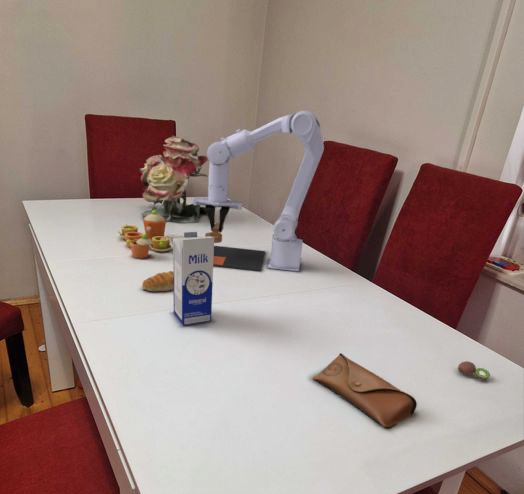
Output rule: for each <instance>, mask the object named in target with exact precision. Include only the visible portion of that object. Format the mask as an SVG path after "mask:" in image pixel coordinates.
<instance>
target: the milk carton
mask: <svg viewBox="0 0 524 494" xmlns="http://www.w3.org/2000/svg"><path fill="white" fill-rule="evenodd" d="M172 242H173V243H172V251H173V252H172V259H173V260H172V261H173V262H172V264H173V265H172V267H173V268H172V269H173V270H172V271H173V287H174V290H173V314H174V315H175V317H176V319H177V320H178V321H179V323H180V325H182V327H186V326H191V325H197V324H205V323H211V322H212V313H213V312H212V311H213V310H212V309H213V284H214V282H213V281H214V280H213V279H214V266H213V257H214V246H215V243H214V237H205V236H198V231H188V232H187V231H186V232H183V237H176V238H175V237H174V238H172Z"/></svg>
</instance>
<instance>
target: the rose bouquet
mask: <svg viewBox="0 0 524 494" xmlns="http://www.w3.org/2000/svg"><path fill="white" fill-rule="evenodd" d="M164 142H165V143H166V144H163V147H164V151H163V152H162V153H163V156H162V155H161V154H157V155H152V156H149V157H148V158H147V159H145V162H146V163H144V164H143V166H144V167H142V168H141V167H140V168H138V170H139V171H140V173H141V174H142V175H141V176H140V181H141V183H142V185H143V187H144V188H143V189H142V191H144V192H143V193H142V198H143V199H144V201H146V202H148V203H153V205H152V207H151V209H152V210H148V211H144V212H141V213H140V214H141V216H142V218H143V219H144V218H145V217H146V216H147V215H149V214H152V211H153V210H155V211H156V212H157V213H156V214H159V215H161V216H162V217H163V218H165V219H166V222H172V223H173V222H174V223H179V224H183V223H196V222H198V220H199V218H200V217H201V216H200V213H206V212H205V206H202V205H193V203H190V204H187V187H188V184H189V182H190V177H191V178H196V177H204V178H205V177H206V178H209V174H208V175H207V174H205V173H202V172H201V170H202V168H203V166H204V164H206V163H207V162H208V161H209V162H210V160H209V159H208V156H207V155H198V153H199V151H200V146H199V144H196V143H194V142H191V141H188V140H185V138H183V137H181V136H175V135H172V136H170V137H168V138H166V139H165V140H164ZM181 199H182V203H181ZM157 204H160V205H158V206H156V205H157Z"/></svg>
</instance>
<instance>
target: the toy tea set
mask: <svg viewBox="0 0 524 494" xmlns="http://www.w3.org/2000/svg"><path fill="white" fill-rule="evenodd" d="M151 211H152V214H149V215H147V216H146V217H145V218H143V219H142V222H143V227H144V233H142V232H140V231H138V230H139V227H138V226H136V225H132V224H131V225H129V224H125V225H122V226H121V227H120V229H121V232H120V230H117V232H118V233H119V238H120V239H122V240H125V242H126V246H127V248H130V251H131V255H132V258H135V259H146V258H148V256H149V252H150V249H151V250H152V251H155V252H161V253H162V252H168V251H171V250H172V249H173V245H171V239H170V237H169V236H165V233H166V225H167V221H166V219H165V218H163V217H162V216H161V215H159V214H156V213H157V212H156V211H155V210H151Z"/></svg>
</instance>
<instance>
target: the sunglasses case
mask: <svg viewBox="0 0 524 494" xmlns="http://www.w3.org/2000/svg"><path fill="white" fill-rule="evenodd" d="M312 380H313V381H315V382H317V383H319V384H321V385H323V386H324V387H326V388H328V389H329V390H331V392H333V393H335V394H336V395H338V396H339V397H341V398H342V399H344V400H345V401H346V402H348V403H349V404H351V405H352V406H353V407H354V408H355V409H358V410H359V411H360V412H362V414H364V415H365V416H367V417H368V418H370V419H371V420H372V421H374V422H376V423H377V424H379V425H380V426H382V427H383V428H392V427H395V426H397V425H398V424H400V423H402V422H404V421H405V420H407V419H409V418H412V417H413V415H414V413H415V412H416V409H417V404H418V403H417V400H416V399H415V397H414V396H412V395H411V394H409V393H408V392H405V391H403V390H401V389H400V388H398V387H396V386H394V385H393V384H391V383H390V382H388V381H387V380H386V379H383V378H382V377H380V376H379V375H377V374H375V373H374V372H372V371H371V370H369V369H367V368H365V367H364V366H362V365H361V364H359V363H357V362H354V361H353V360H352V359H350V358H348V356H345V354H344V353H339V354H338V355H337V356H336V358H334V359H333V360H332V361H331V362H330V363H329V364H328V365H327V366H325V368H324V369H322V371H321V372H320V373H318V374H317V375H315V376H312Z"/></svg>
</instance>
